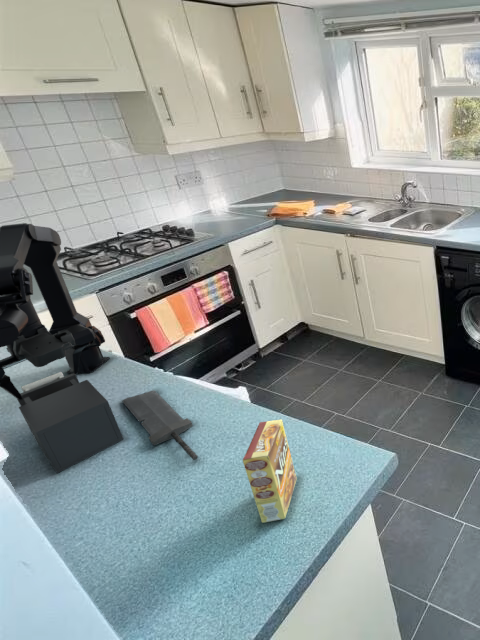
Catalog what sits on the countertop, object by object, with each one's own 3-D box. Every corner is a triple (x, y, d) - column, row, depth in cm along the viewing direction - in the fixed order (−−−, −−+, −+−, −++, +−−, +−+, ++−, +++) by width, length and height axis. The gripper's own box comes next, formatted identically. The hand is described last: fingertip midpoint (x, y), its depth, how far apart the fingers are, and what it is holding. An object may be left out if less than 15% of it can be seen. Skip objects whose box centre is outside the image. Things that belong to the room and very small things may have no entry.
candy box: (286, 519, 76) (269, 455, 70) (260, 524, 75) (241, 460, 69) (297, 478, 84) (283, 418, 78) (274, 482, 83) (258, 421, 77)
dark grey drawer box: (39, 446, 91) (18, 407, 87) (103, 416, 99) (86, 379, 95) (57, 473, 84) (35, 432, 80) (123, 439, 93) (107, 400, 89)
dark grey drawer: (26, 419, 97) (9, 387, 93) (81, 395, 104) (67, 366, 101) (46, 449, 89) (29, 416, 85) (104, 422, 96) (91, 390, 93)
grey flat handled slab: (156, 390, 109) (154, 383, 108) (216, 450, 90) (213, 443, 89) (120, 405, 103) (117, 398, 102) (175, 473, 84) (172, 465, 83)
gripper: (-29, 357, 76) (8, 425, 81) (98, 310, 92) (121, 370, 98) (-58, 344, 79) (-21, 409, 85) (68, 301, 96) (93, 359, 101)
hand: (49, 385), depth 92 cm, fingers open, 9 cm apart
